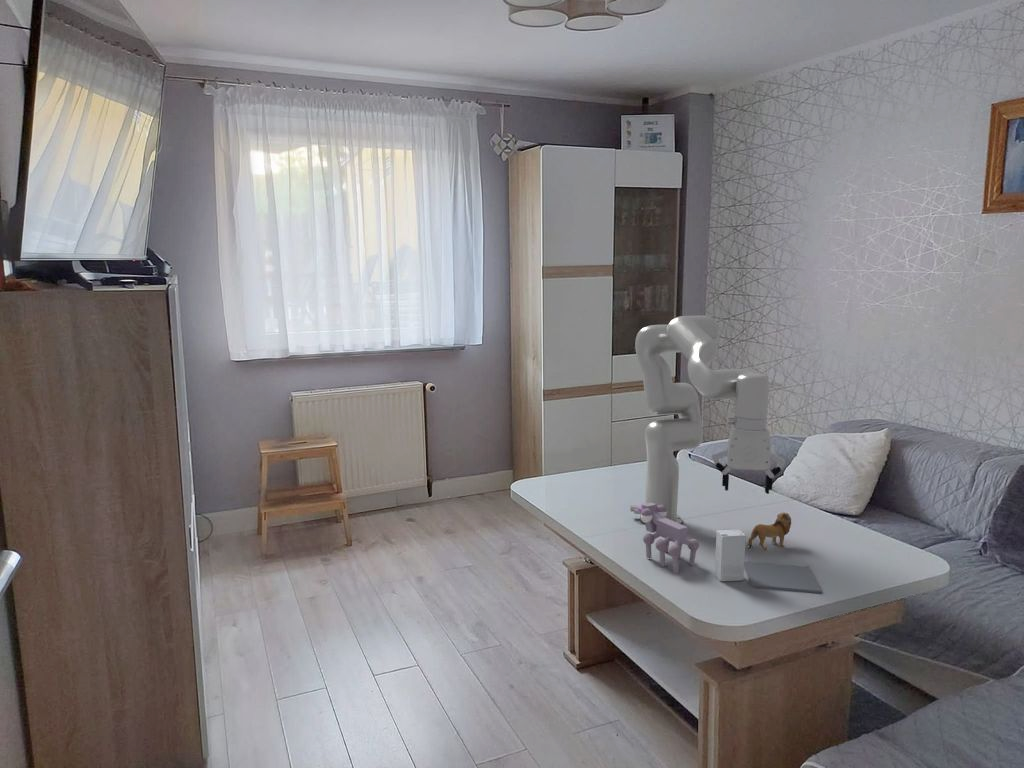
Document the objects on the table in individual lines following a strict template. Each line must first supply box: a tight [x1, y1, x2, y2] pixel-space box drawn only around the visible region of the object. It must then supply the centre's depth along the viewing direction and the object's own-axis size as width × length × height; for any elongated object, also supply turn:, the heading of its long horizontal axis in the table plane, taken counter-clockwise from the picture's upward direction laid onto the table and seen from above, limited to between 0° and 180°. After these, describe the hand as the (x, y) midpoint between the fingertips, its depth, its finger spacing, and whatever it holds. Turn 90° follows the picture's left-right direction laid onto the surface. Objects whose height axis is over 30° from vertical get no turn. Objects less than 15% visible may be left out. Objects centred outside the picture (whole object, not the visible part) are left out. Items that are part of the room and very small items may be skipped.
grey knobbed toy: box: [636, 503, 700, 574], centre depth 186 cm, size 20×11×14 cm, turn 32°
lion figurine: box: [747, 511, 792, 551], centre depth 193 cm, size 15×5×9 cm, turn 117°
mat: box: [744, 560, 822, 594], centre depth 174 cm, size 16×14×1 cm
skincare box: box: [714, 529, 747, 582], centre depth 173 cm, size 6×4×12 cm
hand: (746, 490), depth 174 cm, fingers open, 9 cm apart
